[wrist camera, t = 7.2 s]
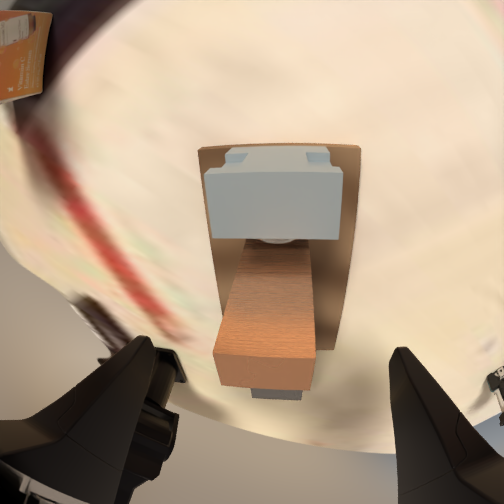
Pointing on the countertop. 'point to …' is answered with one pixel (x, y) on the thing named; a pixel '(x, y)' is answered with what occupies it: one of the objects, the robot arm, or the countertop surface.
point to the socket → (275, 194)
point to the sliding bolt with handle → (269, 319)
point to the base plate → (321, 250)
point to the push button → (498, 389)
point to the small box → (22, 53)
